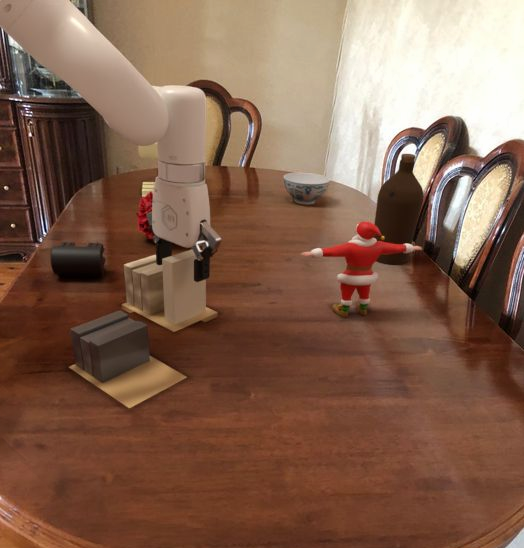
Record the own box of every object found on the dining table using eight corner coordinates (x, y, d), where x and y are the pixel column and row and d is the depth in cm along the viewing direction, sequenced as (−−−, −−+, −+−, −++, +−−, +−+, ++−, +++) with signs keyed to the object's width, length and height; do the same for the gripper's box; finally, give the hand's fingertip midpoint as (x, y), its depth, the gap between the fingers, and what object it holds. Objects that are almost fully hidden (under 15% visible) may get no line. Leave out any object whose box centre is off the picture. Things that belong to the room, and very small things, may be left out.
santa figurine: (400, 302, 111) (418, 214, 101) (414, 314, 106) (435, 224, 96) (288, 311, 104) (297, 219, 94) (298, 325, 99) (308, 229, 90)
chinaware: (297, 210, 165) (300, 185, 161) (273, 197, 176) (274, 174, 172) (336, 205, 172) (339, 181, 168) (310, 194, 183) (312, 171, 179)
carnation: (168, 235, 160) (185, 274, 131) (118, 196, 151) (123, 228, 122) (201, 195, 157) (225, 226, 128) (152, 152, 148) (165, 175, 119)
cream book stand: (121, 309, 101) (117, 265, 96) (165, 292, 108) (163, 250, 104) (174, 336, 93) (172, 290, 88) (217, 316, 100) (218, 273, 96)
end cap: (53, 282, 110) (48, 251, 106) (61, 268, 116) (57, 239, 112) (102, 282, 111) (99, 252, 107) (108, 269, 117) (105, 240, 113)
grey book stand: (69, 372, 82) (62, 330, 78) (126, 346, 89) (123, 307, 85) (129, 413, 74) (125, 369, 70) (187, 382, 81) (186, 340, 77)
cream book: (164, 320, 96) (161, 258, 90) (196, 307, 101) (196, 247, 95) (174, 325, 94) (172, 262, 88) (206, 311, 100) (206, 251, 94)
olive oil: (411, 268, 128) (435, 161, 115) (368, 263, 129) (386, 157, 116) (408, 253, 137) (429, 152, 124) (367, 248, 138) (384, 148, 125)
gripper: (128, 164, 86) (134, 262, 95) (202, 186, 77) (201, 292, 86) (164, 159, 91) (166, 253, 100) (237, 180, 82) (232, 280, 91)
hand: (182, 271), depth 93 cm, fingers open, 9 cm apart
